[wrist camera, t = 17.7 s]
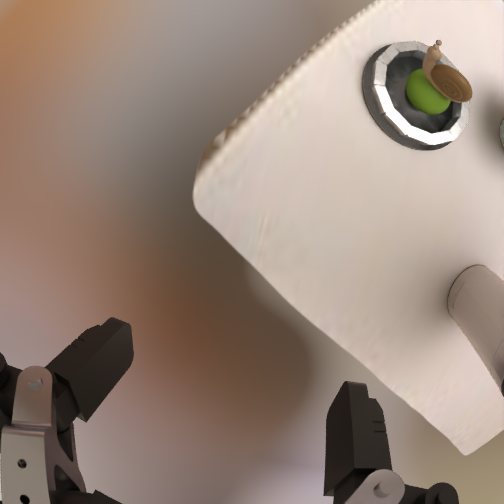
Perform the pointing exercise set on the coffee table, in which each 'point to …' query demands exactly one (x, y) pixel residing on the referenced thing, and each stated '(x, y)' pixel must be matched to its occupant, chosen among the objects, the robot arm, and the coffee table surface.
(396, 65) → the collar base
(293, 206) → the coffee table surface
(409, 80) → the snail figurine
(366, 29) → the coffee table surface
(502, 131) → the disposable coffee cup
